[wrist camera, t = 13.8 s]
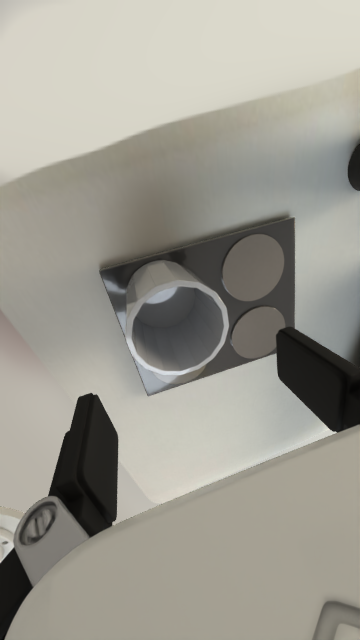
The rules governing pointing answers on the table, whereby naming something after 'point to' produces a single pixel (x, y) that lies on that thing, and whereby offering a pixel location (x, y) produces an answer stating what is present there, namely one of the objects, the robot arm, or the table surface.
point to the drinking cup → (355, 169)
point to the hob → (228, 293)
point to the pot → (173, 319)
